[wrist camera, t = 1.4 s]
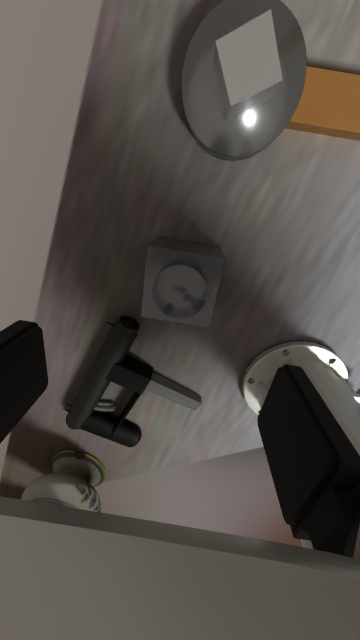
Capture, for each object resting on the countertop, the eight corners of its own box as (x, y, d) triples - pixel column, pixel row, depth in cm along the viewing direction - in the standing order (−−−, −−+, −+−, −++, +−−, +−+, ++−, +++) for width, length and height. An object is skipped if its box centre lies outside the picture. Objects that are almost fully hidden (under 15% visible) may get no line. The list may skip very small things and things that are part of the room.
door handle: (227, 378, 29) (105, 317, 25) (152, 463, 37) (51, 426, 33) (224, 361, 32) (113, 305, 28) (155, 444, 40) (62, 408, 36)
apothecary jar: (112, 451, 39) (51, 622, 23) (111, 493, 44) (61, 656, 28) (41, 440, 39) (-71, 602, 23) (49, 483, 44) (-38, 640, 28)
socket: (219, 246, 24) (227, 261, 17) (207, 302, 27) (209, 333, 20) (159, 236, 24) (144, 247, 17) (153, 293, 27) (138, 321, 20)
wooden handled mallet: (497, 55, 17) (597, 3, 13) (423, 193, 21) (482, 189, 17) (193, 5, 17) (191, -65, 13) (175, 151, 21) (169, 136, 17)
